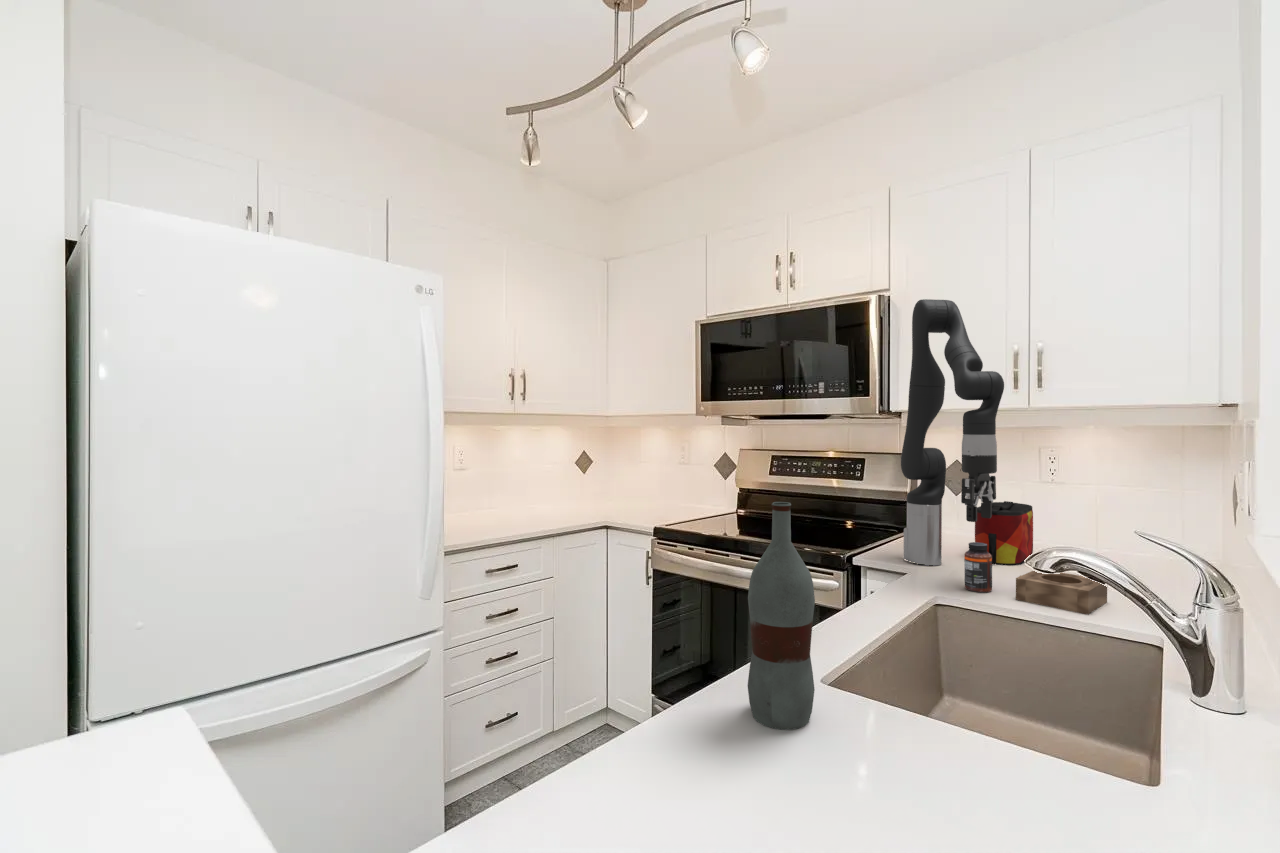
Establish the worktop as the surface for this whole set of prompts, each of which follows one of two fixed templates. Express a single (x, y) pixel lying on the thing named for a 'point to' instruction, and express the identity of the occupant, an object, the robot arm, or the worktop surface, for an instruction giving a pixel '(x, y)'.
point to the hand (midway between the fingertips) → (979, 519)
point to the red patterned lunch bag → (1006, 532)
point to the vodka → (781, 631)
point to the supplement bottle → (978, 568)
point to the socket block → (1061, 591)
